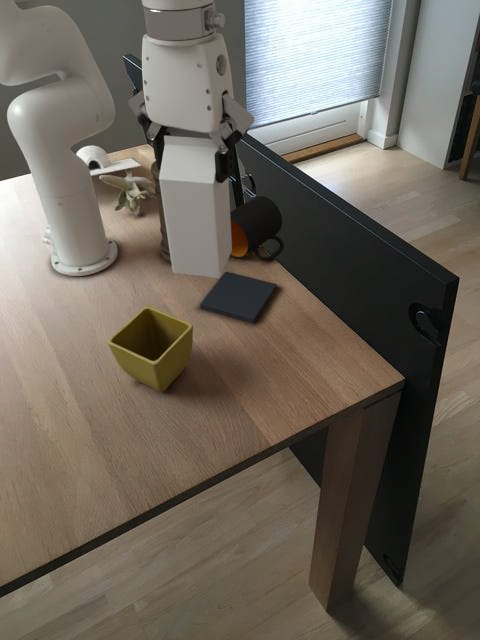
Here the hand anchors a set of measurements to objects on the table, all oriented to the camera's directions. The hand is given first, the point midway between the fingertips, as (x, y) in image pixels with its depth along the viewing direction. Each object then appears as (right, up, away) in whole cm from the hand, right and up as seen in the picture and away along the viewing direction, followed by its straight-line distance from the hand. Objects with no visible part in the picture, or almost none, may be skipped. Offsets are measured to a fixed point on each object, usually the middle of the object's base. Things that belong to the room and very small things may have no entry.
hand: (194, 171), depth 69 cm
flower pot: (-6, -28, +11) cm, 31 cm away
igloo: (-28, +15, +55) cm, 64 cm away
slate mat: (+6, -15, +24) cm, 29 cm away
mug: (+12, 0, +36) cm, 38 cm away
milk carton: (0, -11, +10) cm, 15 cm away
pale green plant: (-18, +7, +50) cm, 54 cm away
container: (-5, -6, +35) cm, 36 cm away
